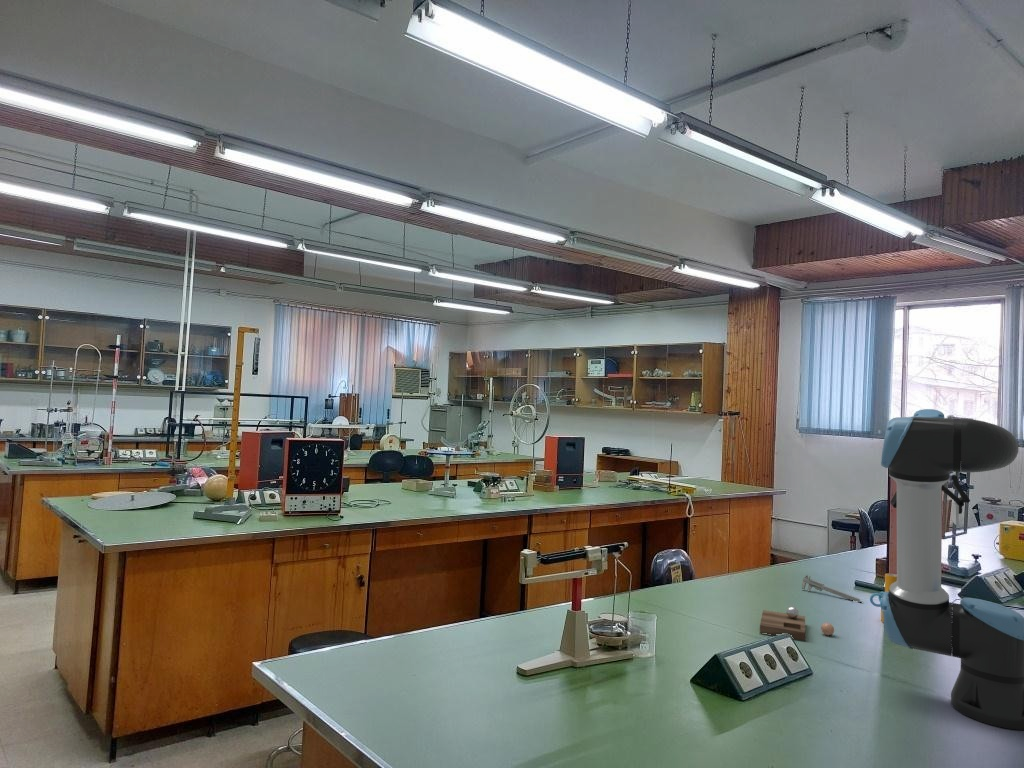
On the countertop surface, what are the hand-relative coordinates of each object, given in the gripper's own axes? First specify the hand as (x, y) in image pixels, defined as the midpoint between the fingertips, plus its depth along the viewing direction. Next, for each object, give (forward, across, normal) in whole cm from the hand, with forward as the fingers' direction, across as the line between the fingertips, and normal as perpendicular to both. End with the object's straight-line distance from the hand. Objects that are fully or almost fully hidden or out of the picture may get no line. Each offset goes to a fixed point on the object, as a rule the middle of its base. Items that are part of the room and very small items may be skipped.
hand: (929, 524), depth 190 cm
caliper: (+41, +24, -21) cm, 52 cm away
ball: (+20, +34, +21) cm, 45 cm away
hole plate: (+20, +47, +20) cm, 54 cm away
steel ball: (+18, +43, +15) cm, 49 cm away
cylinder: (+32, +12, +4) cm, 35 cm away
